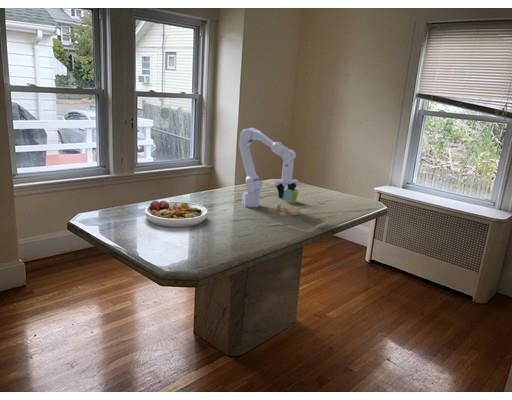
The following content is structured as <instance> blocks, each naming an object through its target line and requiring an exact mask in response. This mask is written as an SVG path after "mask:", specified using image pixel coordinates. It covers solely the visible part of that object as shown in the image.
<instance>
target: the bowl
mask: <svg viewBox="0 0 512 400" xmlns="http://www.w3.org/2000/svg"><path fill="white" fill-rule="evenodd" d="M144 213H145V217H146V218H147V219H148V220H149V221H150V222H151V223H153V224H155V225H158V226H160V227H161V226H162V227H166V228H187V227H193V226H196V225H199V224H200V223H202V222H204V221H205V220H206V218H207V217H208V209H207V208H206V207H205V206H203V205H201V204H197V203H193V202H185V201H166V200H160V201H158V200H153V201H152V202H151V203H149V205H148V206H146V208H145V210H144Z"/></svg>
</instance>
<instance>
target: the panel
mask: <svg viewBox="0 0 512 400" xmlns="http://www.w3.org/2000/svg"><path fill="white" fill-rule="evenodd" d="M268 209H269V210H270V211H271V212H273V213H274V214H275V215H276V216H295V215H297V216H298V215H303V213H302V212H301V211H299V210H297V208H295V207H293V206H292V207H281V210H280V211H276V207H274V208H273V207H272V208H271V207H270V208H269V207H268Z"/></svg>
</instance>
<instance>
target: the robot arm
mask: <svg viewBox="0 0 512 400" xmlns="http://www.w3.org/2000/svg"><path fill="white" fill-rule="evenodd" d="M253 141H260V142H261V143H263V144H265V145H266V146H268V147H269V148H270V149H271V151H272V153H275V154H276V155H277V156H279V157H280V158H281V159H282V169H281V179H279V180H274V186H275V187H276V189H277V193H279V198H282V197H283V191H284V188H286V186H285V185H287V188H288V189H290V190H292V191H294V189H297V188H296V187H297V185H298V184H299V180H298V179H293V174H294V164H295V163H294V162H295V159H296V157H297V153H296V151H295V150H293V149H290V147H286V146H285V145H283V143H282V142H281V141H279V142H278V141H273V140H272V139H271V138H269V137H268V136H267V135H266V134H264V133H263V132H261V130H259V129H257V128H255V127H248V128H243V129H242V131H240V133H239V141H238V148H239V152H240V153H239V154H240V156H241V161H242V164H243V168H244V171H245V175H246V177H245V187H244V188H245V190H246V191H243V192H242V194H241V206H243V207H244V208H257V207H259V206H260V195H261V189H262V186H263V183H262V180H261V179H260V177H259V175H258V174H257V173H256V169H255V164H254V161H253V158H252V153H251V150H250V145H251V144H252V142H253ZM279 198H278V199H279Z"/></svg>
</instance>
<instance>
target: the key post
mask: <svg viewBox="0 0 512 400" xmlns="http://www.w3.org/2000/svg"><path fill="white" fill-rule="evenodd" d="M275 208H276V211H280V210H281V208H282V204H281V203H276V204H275Z"/></svg>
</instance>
